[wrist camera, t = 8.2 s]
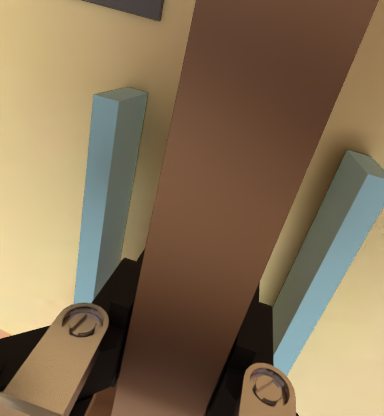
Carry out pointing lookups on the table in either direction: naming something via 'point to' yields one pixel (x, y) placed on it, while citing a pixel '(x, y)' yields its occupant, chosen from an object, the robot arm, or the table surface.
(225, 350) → the crook rake
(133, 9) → the grey square tile
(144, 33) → the table surface
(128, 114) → the cubby
